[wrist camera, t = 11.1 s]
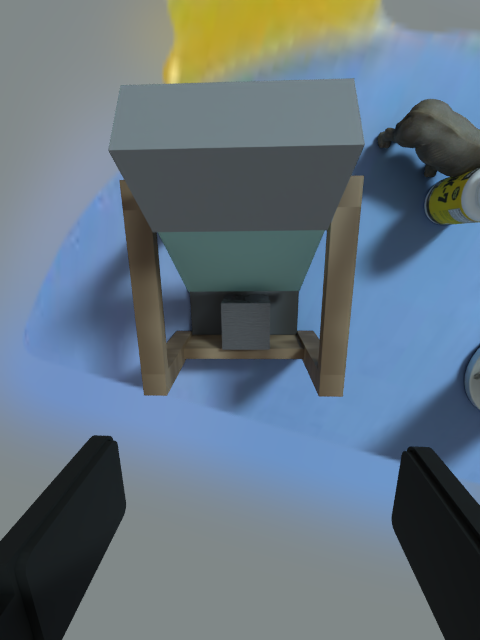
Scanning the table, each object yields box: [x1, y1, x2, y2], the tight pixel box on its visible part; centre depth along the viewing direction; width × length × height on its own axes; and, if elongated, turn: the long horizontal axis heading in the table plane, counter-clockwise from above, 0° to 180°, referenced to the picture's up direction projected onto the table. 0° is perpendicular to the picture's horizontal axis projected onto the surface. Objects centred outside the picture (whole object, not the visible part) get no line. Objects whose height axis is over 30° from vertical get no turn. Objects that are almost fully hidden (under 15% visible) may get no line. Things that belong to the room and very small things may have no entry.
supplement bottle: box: [424, 168, 480, 225], centre depth 27 cm, size 5×5×8 cm
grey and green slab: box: [109, 78, 365, 292], centre depth 22 cm, size 12×19×4 cm
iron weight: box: [221, 294, 270, 350], centre depth 32 cm, size 5×5×5 cm
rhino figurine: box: [378, 99, 480, 177], centre depth 27 cm, size 4×14×6 cm, turn 64°
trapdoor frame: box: [120, 176, 364, 397], centre depth 28 cm, size 17×17×12 cm
